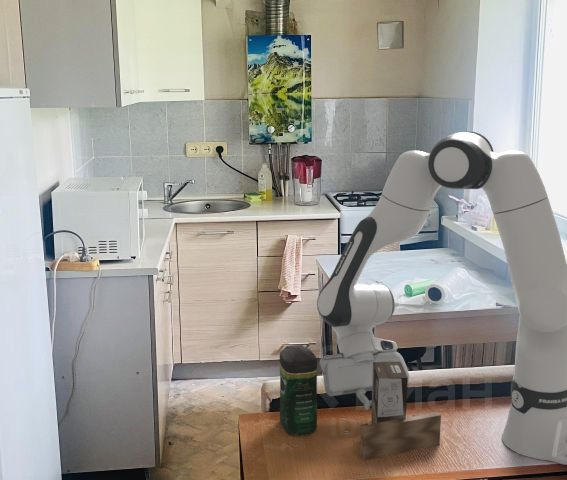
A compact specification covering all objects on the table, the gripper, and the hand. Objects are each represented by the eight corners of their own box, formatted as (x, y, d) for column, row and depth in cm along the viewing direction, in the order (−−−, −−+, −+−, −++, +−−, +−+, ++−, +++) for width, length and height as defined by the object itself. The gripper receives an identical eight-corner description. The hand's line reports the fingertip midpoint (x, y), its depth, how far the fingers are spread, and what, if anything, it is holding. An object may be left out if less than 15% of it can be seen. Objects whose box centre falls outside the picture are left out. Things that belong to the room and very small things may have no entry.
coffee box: (405, 448, 146) (408, 378, 142) (375, 448, 146) (377, 378, 142) (398, 427, 155) (401, 360, 151) (370, 427, 155) (372, 360, 151)
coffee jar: (321, 434, 152) (321, 356, 148) (286, 439, 150) (286, 359, 146) (309, 415, 161) (309, 340, 157) (276, 419, 159) (275, 343, 155)
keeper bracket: (426, 433, 152) (427, 404, 151) (439, 445, 147) (441, 415, 146) (352, 447, 147) (352, 417, 145) (363, 460, 141) (364, 429, 140)
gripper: (321, 351, 155) (336, 410, 149) (402, 341, 162) (420, 398, 155) (313, 361, 160) (328, 419, 154) (392, 351, 167) (409, 406, 160)
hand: (374, 408), depth 155 cm, fingers closed
